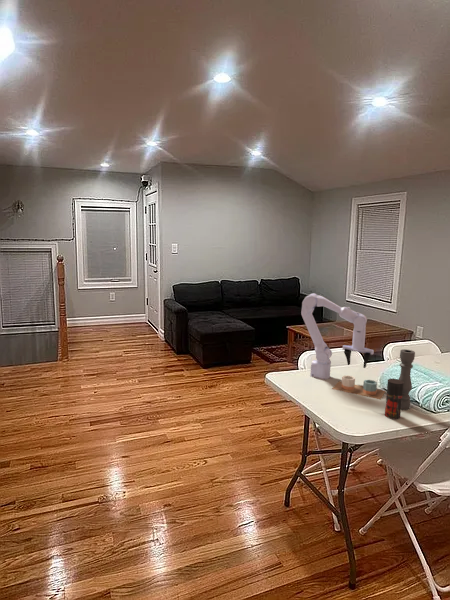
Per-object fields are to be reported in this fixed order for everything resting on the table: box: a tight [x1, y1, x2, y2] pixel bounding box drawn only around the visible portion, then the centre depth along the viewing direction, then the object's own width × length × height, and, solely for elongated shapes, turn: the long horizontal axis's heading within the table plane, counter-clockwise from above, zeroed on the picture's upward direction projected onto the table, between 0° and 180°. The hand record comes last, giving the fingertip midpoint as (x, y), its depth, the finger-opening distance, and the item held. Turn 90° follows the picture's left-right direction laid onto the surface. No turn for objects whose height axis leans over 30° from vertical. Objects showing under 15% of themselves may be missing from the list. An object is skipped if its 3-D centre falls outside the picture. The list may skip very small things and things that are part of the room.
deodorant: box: [384, 378, 404, 420], centre depth 167 cm, size 6×6×15 cm
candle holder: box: [398, 349, 416, 411], centre depth 175 cm, size 6×6×25 cm
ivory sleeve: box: [341, 375, 356, 390], centre depth 194 cm, size 6×6×5 cm
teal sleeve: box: [362, 379, 378, 395], centre depth 189 cm, size 6×6×5 cm
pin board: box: [331, 381, 386, 400], centre depth 192 cm, size 22×12×5 cm, turn 59°
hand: (356, 365), depth 201 cm, fingers open, 7 cm apart
